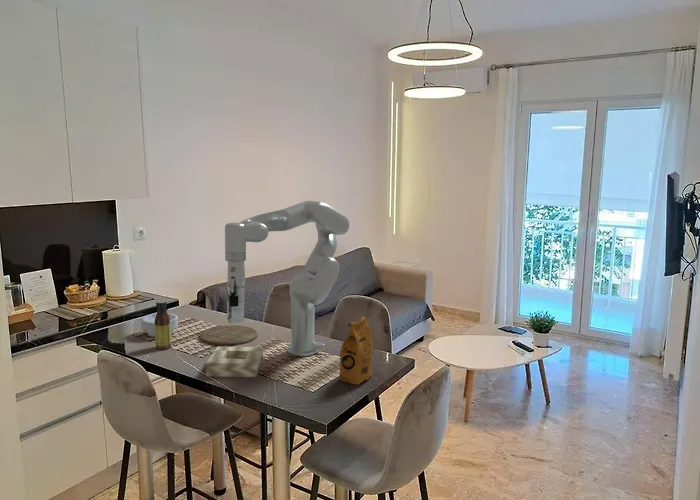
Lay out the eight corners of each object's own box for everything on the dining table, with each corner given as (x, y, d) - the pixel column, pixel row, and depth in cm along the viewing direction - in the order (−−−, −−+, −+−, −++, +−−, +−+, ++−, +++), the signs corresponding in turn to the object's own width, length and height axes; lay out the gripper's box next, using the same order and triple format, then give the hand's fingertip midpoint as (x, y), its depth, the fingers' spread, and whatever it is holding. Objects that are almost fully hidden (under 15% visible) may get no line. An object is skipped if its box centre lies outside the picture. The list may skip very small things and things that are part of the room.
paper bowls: (167, 340, 226) (167, 323, 224) (135, 338, 228) (135, 320, 227) (184, 330, 240) (184, 314, 239) (153, 328, 243) (153, 311, 242)
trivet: (268, 334, 239) (268, 330, 238) (232, 350, 217) (232, 346, 216) (226, 326, 250) (226, 322, 250) (187, 340, 228) (187, 336, 228)
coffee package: (334, 380, 187) (336, 321, 184) (352, 370, 197) (354, 314, 194) (358, 387, 182) (360, 326, 179) (375, 376, 192) (377, 318, 189)
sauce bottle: (164, 344, 221) (163, 298, 218) (174, 347, 218) (173, 300, 215) (151, 348, 215) (150, 301, 212) (162, 351, 212) (160, 303, 209)
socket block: (263, 359, 206) (263, 347, 205) (256, 376, 188) (256, 363, 188) (217, 358, 206) (217, 346, 205) (206, 376, 188) (206, 363, 187)
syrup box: (226, 319, 196) (226, 281, 194) (242, 318, 198) (242, 280, 196) (228, 323, 191) (228, 284, 189) (245, 322, 193) (244, 284, 191)
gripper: (241, 260, 182) (241, 309, 185) (249, 253, 200) (249, 298, 202) (220, 260, 182) (220, 309, 185) (230, 252, 199) (230, 297, 202)
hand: (235, 303), depth 193 cm, fingers closed on syrup box, 7 cm apart
